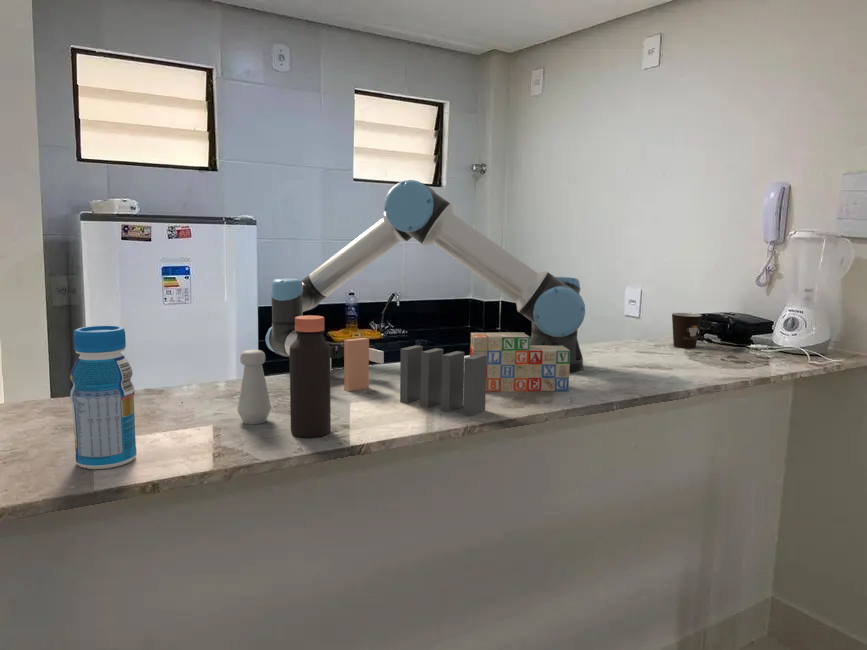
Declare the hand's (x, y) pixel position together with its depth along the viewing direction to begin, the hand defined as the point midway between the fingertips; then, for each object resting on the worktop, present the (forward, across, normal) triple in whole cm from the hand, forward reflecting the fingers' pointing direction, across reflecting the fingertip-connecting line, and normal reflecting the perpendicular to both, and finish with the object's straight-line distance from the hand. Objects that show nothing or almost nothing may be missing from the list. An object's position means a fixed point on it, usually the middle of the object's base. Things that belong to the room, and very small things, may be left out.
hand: (356, 361), depth 144 cm
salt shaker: (+9, +28, -6) cm, 30 cm away
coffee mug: (+16, -112, -7) cm, 113 cm away
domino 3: (+24, -7, -6) cm, 25 cm away
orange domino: (-1, 0, -6) cm, 6 cm away
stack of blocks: (+20, -30, -7) cm, 36 cm away
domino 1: (+14, -4, -6) cm, 16 cm away
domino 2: (+19, -5, -6) cm, 21 cm away
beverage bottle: (+14, +54, -6) cm, 57 cm away
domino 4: (+28, -8, -6) cm, 30 cm away
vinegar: (+20, +23, -6) cm, 32 cm away
